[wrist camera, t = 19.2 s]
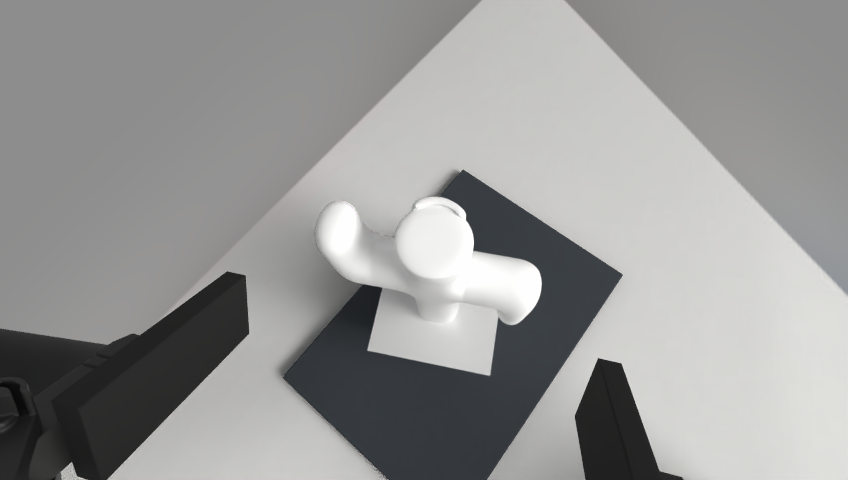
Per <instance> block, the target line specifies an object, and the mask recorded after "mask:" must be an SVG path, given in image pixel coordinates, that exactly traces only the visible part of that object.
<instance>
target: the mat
mask: <svg viewBox="0 0 848 480" xmlns="http://www.w3.org/2000/svg"><path fill="white" fill-rule="evenodd" d="M440 197H443V198H446V199H449V200H451V201H453V202H455V203H456V204H458V205H459V206H460V207H461V208H462V209H463V210H464V211H465V213H466V221H467V222H468V224H469V226H470V228H471V230H472V233H473V239H474V246H473V251H477V252H483V253H488V254H494V255H500V256H506V257H512V258H517V259H522V260H525V261H528V262H530V263H532V264H533V265H534V266H535V267H536V268H537V269H538V270H539V273H540V276H541V282H542V284H541V293H540V296H539V299H538V301H537V303H536V305H535V307H534V308H533V309H532V311H531V312H530V313H529V314H528V315H527V316H526V317H525V318H524V319H523V320H522V321H520V322H519V323H517V324H515V325H508V324H505V323H504V322H502V321H501V320H500V318H499V317H498V322H497V329H496V336H495V344H494V351H493V358H492V365H491V373H490V376H488V375H483V374H478V373H474V372H469V371H464V370H459V369H454V368H449V367H445V366H440V365H435V364H430V363H425V362H420V361H416V360H411V359H406V358H401V357H396V356H391V355H386V354H382V353H377V352H372V351H367V349H368V345H369V341H370V337H371V333H372V329H373V325H374V321H375V316H376V312H377V308H378V304H379V300H380V296H381V292H382V287H377V286H371V285H365V284H363V285H362V286H361V288H360V289H359V290H358V291H357V292H356V293H355V295H354V296H353V297H352V298H351V299H350V300H349V301H348V303H347V304H346V305H345V306H344V307H343V308H342V309H341V311H340V312H339V313H338V314H337V315H336V316H335V318H334V319H333V320H332V321H331V322H330V323H329V324H328V326H327V327H326V328H325V329H324V330H323V331H322V332H321V334H320V335H319V336H318V337H317V338H316V339H315V341H314V342H313V343H312V344H311V345H310V346H309V347H308V349H307V350H306V351H305V352H304V353H303V354H302V356H301V357H300V358H299V359H298V360H297V361H296V362H295V364H294V365H293V366H292V367H291V368H290V369H289V370H288V372H287V373H286V374H285V375H284V376H283V378H284V379H285V380H286V381H287V382H288V383H289V384H290V385H291V386H292V387H293V388H294V389H295V390H296V391H297V392H298V393H299V394H300V395H301V396H303V397H304V398H305V399H306V400H307V401H308V402H309V403H310V404H311V405H312V406H313V407H314V408H315V409H316V410H317V411H318V412H319V413H320V414H321V415H322V416H323V417H324V418H325V419H326V420H327V421H329V422H330V423H331V424H332V425H333V426H334V427H335V428H336V429H337V430H338V431H339V432H340V433H341V434H342V435H343V436H344V437H345V438H346V439H347V440H348V441H349V442H350V443H351V444H352V445H353V446H354V447H356V448H357V449H358V450H359V451H360V452H361V453H362V454H363V455H364V456H365V457H366V458H367V459H368V460H369V461H370V462H371V463H372V464H373V465H374V466H375V467H376V468H377V469H378V470H379V471H380V472H382V473H383V474H384V475H385V476H386V477H387V478H388V479H389V480H487V478H488V477H489V475H490V474H491V472H492V471H493V469H494V468H495V466H496V465H497V463H498V462H499V460H500V459H501V457H502V456H503V454H504V453H505V451H506V450H507V448H508V447H509V445H510V444H511V442H512V441H513V439H514V438H515V436H516V435H517V433H518V432H519V430H520V429H521V427H522V426H523V424H524V423H525V421H526V420H527V418H528V417H529V415H530V414H531V412H532V411H533V409H534V408H535V406H536V405H537V403H538V402H539V400H540V399H541V397H542V396H543V394H544V393H545V391H546V390H547V388H548V387H549V385H550V384H551V382H552V381H553V379H554V378H555V376H556V375H557V373H558V372H559V370H560V369H561V367H562V366H563V364H564V363H565V361H566V360H567V358H568V357H569V355H570V354H571V352H572V351H573V349H574V348H575V346H576V345H577V343H578V342H579V340H580V339H581V337H582V336H583V334H584V333H585V331H586V330H587V328H588V327H589V325H590V324H591V322H592V321H593V319H594V318H595V316H596V315H597V313H598V312H599V310H600V309H601V307H602V306H603V304H604V303H605V301H606V300H607V298H608V297H609V295H610V294H611V292H612V291H613V289H614V288H615V286H616V285H617V283H618V282H619V280H620V279H621V277H622V276H623V275H622V274H621V273H620V272H618V271H617V270H615V269H613V268H612V267H610V266H609V265H607V264H606V263H604V262H603V261H601V260H600V259H598V258H597V257H595V256H594V255H592V254H591V253H589V252H588V251H586V250H585V249H583V248H582V247H580V246H579V245H577V244H575V243H574V242H572V241H571V240H569V239H568V238H566V237H565V236H563V235H562V234H560V233H559V232H557V231H556V230H554V229H553V228H551V227H550V226H548V225H547V224H545V223H544V222H542V221H541V220H539V219H537V218H536V217H534V216H533V215H531V214H530V213H528V212H527V211H525V210H524V209H522V208H521V207H519V206H518V205H516V204H515V203H513V202H512V201H510V200H509V199H507V198H506V197H504V196H503V195H501V194H499V193H498V192H496V191H495V190H493V189H492V188H490V187H489V186H487V185H486V184H484V183H483V182H481V181H480V180H478V179H477V178H475V177H474V176H472V175H471V174H469V173H468V172H466V171H465V170H462V171H461V172H460V174H459V175H458V176H457V177H456V178H455V179H454V181H453V182H452V183H451V184H450V185H449V186H448V187H447V189H446V190H445V191H444V192H443V193H442V194H441V196H440Z"/></svg>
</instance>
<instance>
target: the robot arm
mask: <svg viewBox="0 0 848 480" xmlns="http://www.w3.org/2000/svg"><path fill="white" fill-rule="evenodd" d="M248 334H249V323H248V307H247V290H246V276H245V275H241V274H236V273H232V272H228V271H227V272H226V273H224V274H223V275H222V276H220V277H219V278H218V279H216V280H215V281H214V282H212V283H211V284H209V285H208V286H207V287H205V288H204V289H203V290H201V291H200V292H199V293H197V294H196V295H194V296H193V297H192V298H190V299H189V300H188V301H186V302H185V303H184V304H182V305H181V306H179V307H178V308H177V309H175V310H174V311H173V312H171V313H170V314H169V315H167V316H166V317H164V318H163V319H162V320H160V321H159V322H158V323H156V324H155V325H154V326H152V327H151V328H149V329H148V330H147V331H145V332H144V333H143V334H141V335H140V336H139V335H136V334H130V335H128V336H126V337H123V338H121V339H119V340H116V341H114V342H112V343H111V344H109V345H108V346H106V347H105V348H103V349H102V350H100V351H99V352H98V353H96V355H95V356H92V357H90V358H89V359H88V360H86V361H85V362H83V365H79V366H78V367H76V368H75V369H73V370H72V371H70V372H69V373H68V374H66V375H65V376H63V377H62V378H60V379H59V380H58V381H56V382H55V383H53V384H52V385H50V386H49V387H48V388H46V389H45V390H43V391H42V392H40V393H39V394H38V395H36V396H35V397H32V395H31V392H30V389H29V387H28V384H27V382H25V381H24V380H23V379H22V378H17V377H3V378H0V480H62V479H61V473H60V472H61V471H62V470H63V469H64V468H65V467H66V466H68V465H69V464H70V463H71V462H72V463H73V466H74V468H75V471H76V474H77V476H78V477H81V478H84V479H87V480H107V479H108V478H109V477H110V476H111V475H112V474H113V473H114V472H115V471H116V470H117V469H118V468H119V467H120V466H121V464H122V463H123V462H124V461H125V460H126V459H127V458H128V457H129V456H130V455H131V454H132V453H133V452H134V451H135V450H136V449H137V448H138V447H139V446H140V445H141V444H142V443H143V442H144V441H145V440H146V439H147V438H148V437H149V436H150V435H151V434H152V433H153V432H154V431H155V430H156V429H157V428H158V427H159V425H160V424H161V423H162V422H163V421H164V420H165V419H166V418H167V417H168V416H169V415H170V414H171V413H172V412H173V411H174V410H175V409H176V408H177V407H178V406H179V405H180V404H181V403H182V402H183V401H184V400H185V399H186V398H187V397H188V396H189V395H190V394H191V393H192V392H193V391H194V390H195V389H196V387H197V386H198V385H199V384H200V383H201V382H202V381H203V380H204V379H205V378H206V377H207V376H208V375H209V374H210V373H211V372H212V371H213V370H214V369H215V368H216V367H217V366H218V365H219V364H220V363H221V362H222V361H223V360H224V359H225V358H226V357H227V356H228V355H229V354H230V353H231V352H232V351H233V350H234V348H235V347H236V346H237V345H238V344H239V343H240V342H241V341H242V340H243V339H244V338H245V337H246V336H247V335H248ZM575 420H576V426H577V432H578V438H579V444H580V449H581V455H582V461H583V467H584V473H585V479H586V480H683V478H682V477H679V476H675V475H671V474H667V473H663V472H660V471H659V469H658V466H657V463H656V460H655V457H654V454H653V452H652V449H651V446H650V443H649V440H648V437H647V435H646V432H645V429H644V426H643V423H642V421H641V418H640V415H639V412H638V409H637V406H636V404H635V401H634V398H633V395H632V392H631V389H630V387H629V384H628V381H627V378H626V375H625V372H624V370H623V367H622V364H621V363H616V362H612V361H608V360H603V359H599V358H598V360H597V363H596V365H595V367H594V370H593V372H592V375H591V377H590V380H589V382H588V385H587V387H586V390H585V392H584V395H583V397H582V400H581V402H580V404H579V407H578V409H577V412H576V414H575Z"/></svg>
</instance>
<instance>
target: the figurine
mask: <svg viewBox="0 0 848 480" xmlns="http://www.w3.org/2000/svg"><path fill="white" fill-rule="evenodd" d="M315 241H316V245H317V247H318V249H319V251H320V252H321V253H322V255H323V256H324V257H325V258H326V259H327V260H328V261H329V263H330V264H331V265H332V266H333V267H334V268H335V269H336V271H337V272H338V273H339V274H340V275H342V276H343V277H344V278H346V279H348V280H350V281H352V282H355V283H360V284H365V285H371V286H377V287H382V292H381V296H380V300H379V304H378V308H377V312H376V316H375V321H374V325H373V329H372V333H371V337H370V341H369V345H368V349H367V351H372V352H377V353H382V354H386V355H391V356H396V357H401V358H406V359H411V360H416V361H420V362H425V363H430V364H435V365H440V366H445V367H449V368H454V369H459V370H464V371H469V372H474V373H478V374H483V375H488V376H490V373H491V365H492V358H493V351H494V344H495V336H496V329H497V322H498V317H499V318H500V320H501V321H502V322H504V323H505V324H508V325H515V324H517V323H519V322H520V321H522V320H523V319H524V318H525V317H526V316H527V315H528V314H529V313H530V312H531V311H532V309H533V308H534V307H535V305H536V303H537V301H538V299H539V296H540V293H541V284H542V282H541V276H540V273H539V270H538V269H537V268H536V267H535V266H534V265H533V264H532V263H530V262H528V261H525V260H522V259H517V258H512V257H506V256H500V255H494V254H488V253H483V252H477V251H473V246H474V239H473V233H472V230H471V228H470V226H469V224H468V222H467V221H466V213H465V211H464V210H463V209H462V208H461V207H460V206H459V205H458V204H456V203H455V202H453V201H451V200H449V199H446V198H443V197H427V198H423V199H420V200H418V201H416V202H415V203H414V204H413V206H412V212H410V213H409V214H408V215H406V216H405V217H404V218H403V219H402V221H401V222H400V223H399V225H398V227H397V229H396V232H395V237H390V236H384V235H380V234H378V233H376V232H374V231H372V230H371V229H369V228H368V227H367V226H366V225H365V224H364V223H363V222H362V220H361V219H360V217H359V215H358V213H357V211H356V209H355V208H354V207H353V206H352V205H351V204H349V203H348V202H345V201H334V202H331V203H330V204H328V205H327V206H326V207H325V208H324V209H323V210H322V212H321V213H320V215H319V217H318V220H317V223H316V227H315Z"/></svg>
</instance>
